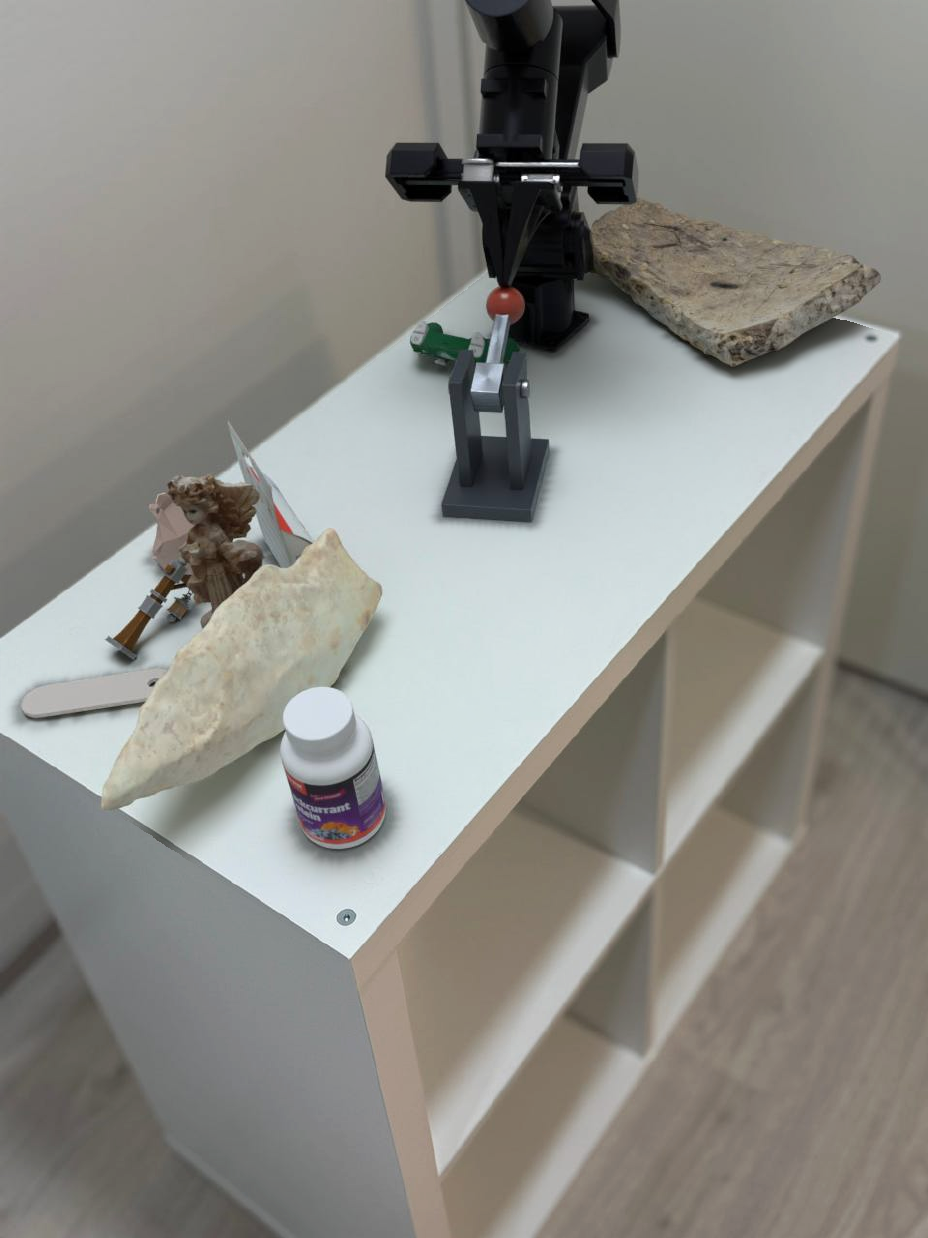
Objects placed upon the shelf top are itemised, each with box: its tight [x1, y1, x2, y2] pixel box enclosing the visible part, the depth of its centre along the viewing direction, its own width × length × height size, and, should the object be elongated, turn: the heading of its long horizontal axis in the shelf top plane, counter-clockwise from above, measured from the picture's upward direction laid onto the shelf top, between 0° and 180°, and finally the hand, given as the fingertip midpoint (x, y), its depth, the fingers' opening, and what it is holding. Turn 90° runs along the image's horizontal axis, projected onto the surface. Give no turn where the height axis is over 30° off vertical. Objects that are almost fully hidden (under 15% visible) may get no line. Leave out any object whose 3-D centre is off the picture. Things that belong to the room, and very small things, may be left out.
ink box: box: [226, 420, 315, 568], centre depth 90 cm, size 3×9×12 cm, turn 26°
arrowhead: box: [100, 527, 383, 811], centre depth 79 cm, size 10×6×25 cm
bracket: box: [440, 350, 551, 523], centre depth 96 cm, size 9×7×11 cm
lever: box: [470, 285, 525, 414], centre depth 95 cm, size 11×3×3 cm, turn 168°
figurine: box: [166, 472, 266, 629], centre depth 83 cm, size 7×6×15 cm
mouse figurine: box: [149, 492, 195, 576], centre depth 93 cm, size 5×8×7 cm, turn 58°
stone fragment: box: [589, 196, 882, 367], centre depth 115 cm, size 28×6×20 cm
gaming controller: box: [409, 320, 521, 366], centre depth 111 cm, size 9×4×6 cm
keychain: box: [21, 667, 168, 719], centre depth 86 cm, size 10×1×3 cm
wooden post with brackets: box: [104, 557, 194, 661], centre depth 90 cm, size 2×8×4 cm, turn 139°
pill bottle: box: [279, 687, 387, 850], centre depth 74 cm, size 5×5×10 cm
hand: (503, 285), depth 95 cm, fingers closed, pressing on lever
